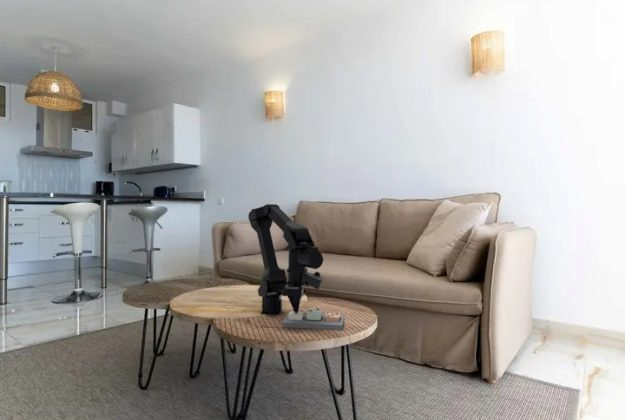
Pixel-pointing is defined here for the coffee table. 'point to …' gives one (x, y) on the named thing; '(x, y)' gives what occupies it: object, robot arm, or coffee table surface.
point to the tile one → (296, 315)
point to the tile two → (314, 314)
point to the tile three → (332, 317)
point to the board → (314, 323)
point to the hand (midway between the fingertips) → (296, 312)
